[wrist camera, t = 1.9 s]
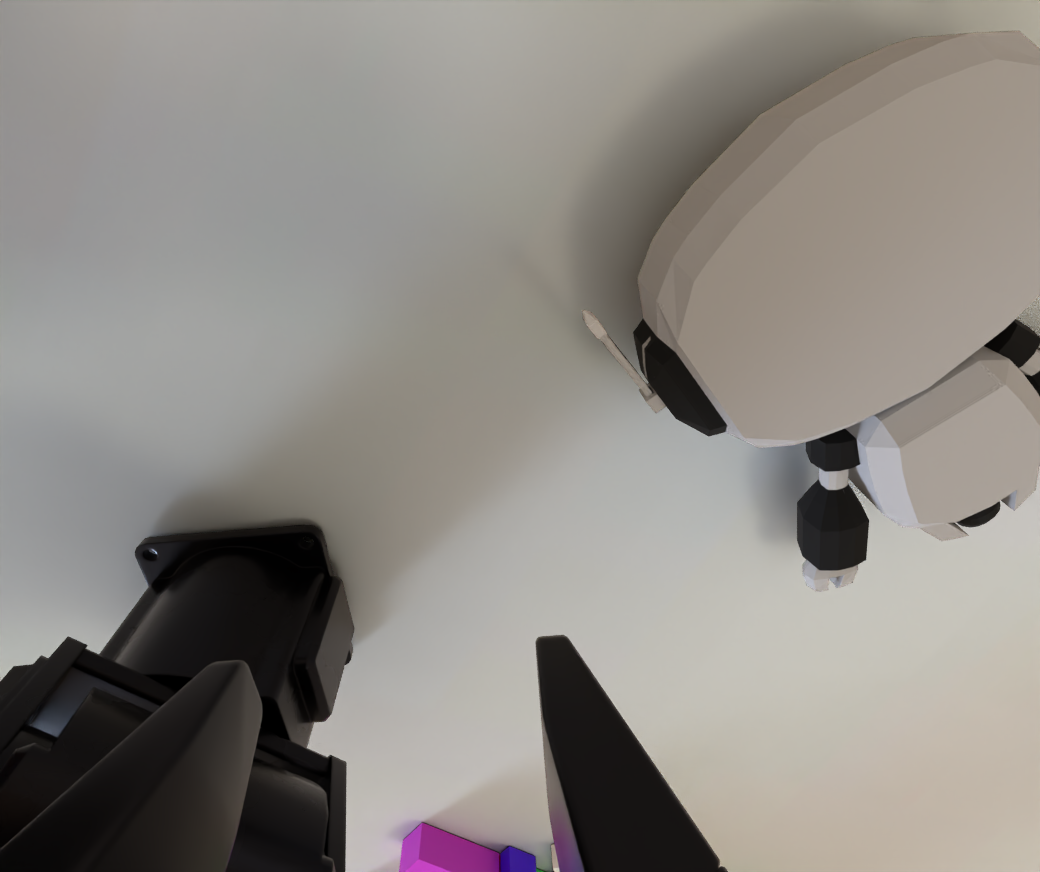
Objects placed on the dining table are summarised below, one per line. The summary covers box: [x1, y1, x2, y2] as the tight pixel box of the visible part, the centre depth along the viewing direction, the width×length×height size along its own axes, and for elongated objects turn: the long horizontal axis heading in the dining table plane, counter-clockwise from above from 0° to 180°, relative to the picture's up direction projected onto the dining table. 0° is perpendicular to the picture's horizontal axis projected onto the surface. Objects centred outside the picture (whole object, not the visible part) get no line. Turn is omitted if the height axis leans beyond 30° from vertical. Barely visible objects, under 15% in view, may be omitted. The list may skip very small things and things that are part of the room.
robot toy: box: [582, 31, 1040, 592], centre depth 18 cm, size 12×4×15 cm
